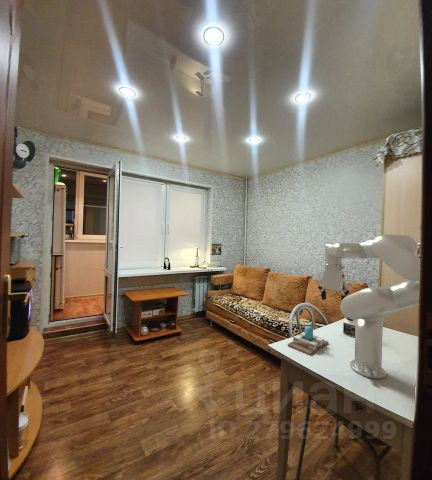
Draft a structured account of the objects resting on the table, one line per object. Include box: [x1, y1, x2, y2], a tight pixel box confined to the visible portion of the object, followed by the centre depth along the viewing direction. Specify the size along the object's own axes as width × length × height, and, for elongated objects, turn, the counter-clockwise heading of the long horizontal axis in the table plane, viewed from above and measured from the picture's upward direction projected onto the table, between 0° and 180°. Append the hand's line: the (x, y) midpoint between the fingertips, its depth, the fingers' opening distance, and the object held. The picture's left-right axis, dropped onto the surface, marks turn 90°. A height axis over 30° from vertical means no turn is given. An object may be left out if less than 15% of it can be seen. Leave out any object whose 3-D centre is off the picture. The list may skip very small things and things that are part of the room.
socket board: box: [287, 331, 329, 356], centre depth 117 cm, size 20×12×4 cm, turn 131°
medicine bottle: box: [342, 316, 357, 338], centre depth 131 cm, size 7×7×12 cm
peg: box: [304, 325, 314, 341], centre depth 117 cm, size 4×4×8 cm
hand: (333, 301), depth 114 cm, fingers open, 9 cm apart
